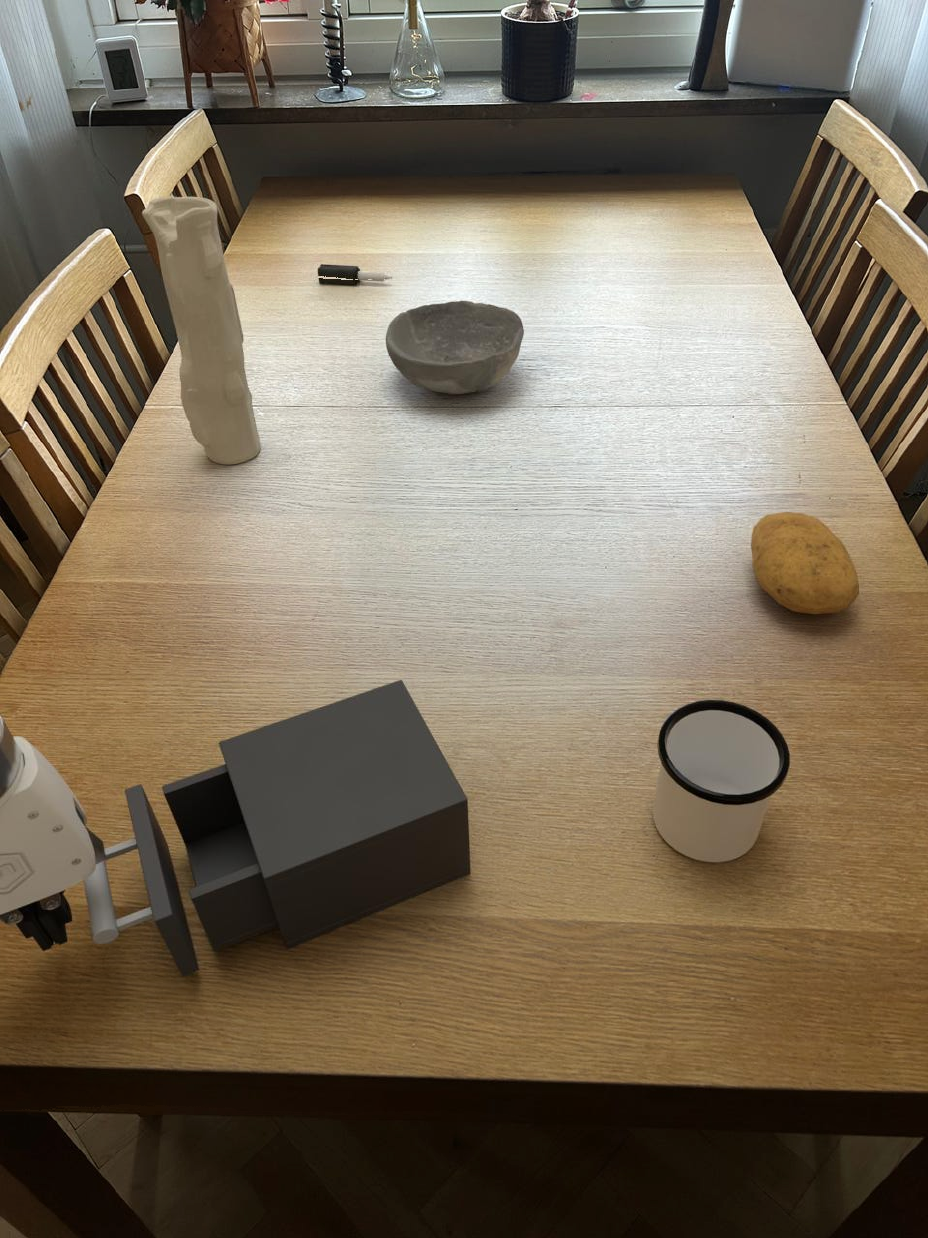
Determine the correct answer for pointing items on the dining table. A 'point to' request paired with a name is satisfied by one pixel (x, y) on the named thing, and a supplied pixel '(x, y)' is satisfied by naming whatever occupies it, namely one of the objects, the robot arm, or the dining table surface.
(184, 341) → the vase
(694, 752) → the mug
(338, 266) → the black and grey marker
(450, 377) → the bowl
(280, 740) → the dark grey drawer box
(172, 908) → the drawer front with handle
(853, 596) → the potato
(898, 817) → the dining table surface
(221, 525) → the dining table surface
